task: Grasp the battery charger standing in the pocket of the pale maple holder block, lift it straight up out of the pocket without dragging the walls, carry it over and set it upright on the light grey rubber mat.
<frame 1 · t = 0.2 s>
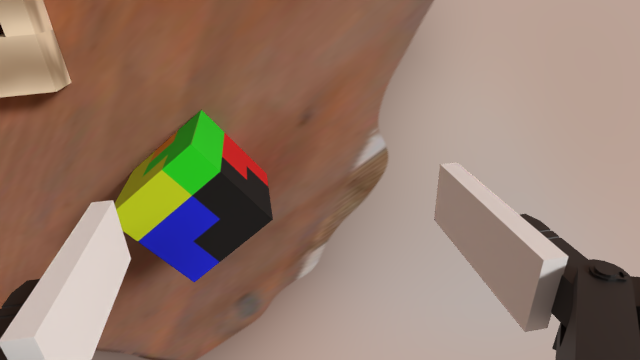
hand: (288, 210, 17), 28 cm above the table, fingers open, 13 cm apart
puzzle toy: (202, 171, 45), on the table
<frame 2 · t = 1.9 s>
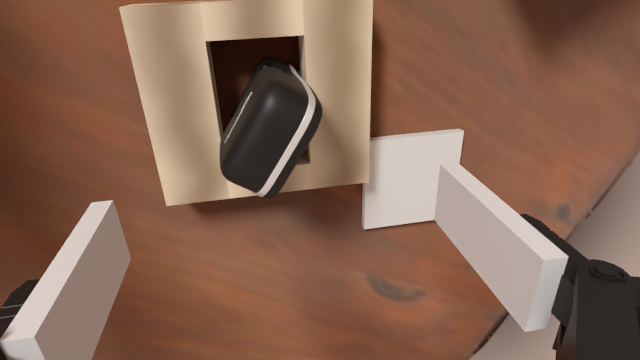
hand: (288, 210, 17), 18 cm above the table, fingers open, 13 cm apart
battery charger: (258, 94, 32), resting in holder block
grey mat: (408, 178, 38), on the table
holder block: (260, 95, 32), on the table
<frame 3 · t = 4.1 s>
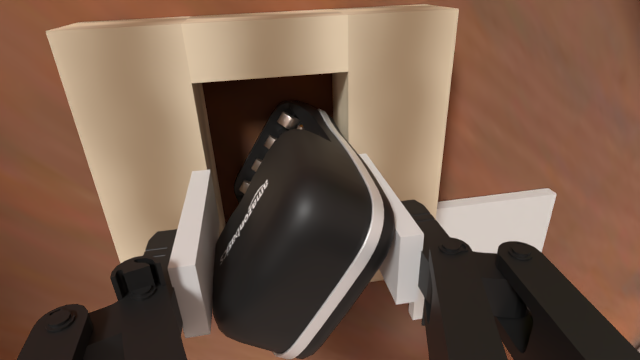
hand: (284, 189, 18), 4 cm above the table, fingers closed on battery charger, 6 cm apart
battery charger: (273, 150, 22), resting in holder block, touching gripper
grey mat: (474, 253, 28), on the table
holder block: (275, 151, 22), on the table
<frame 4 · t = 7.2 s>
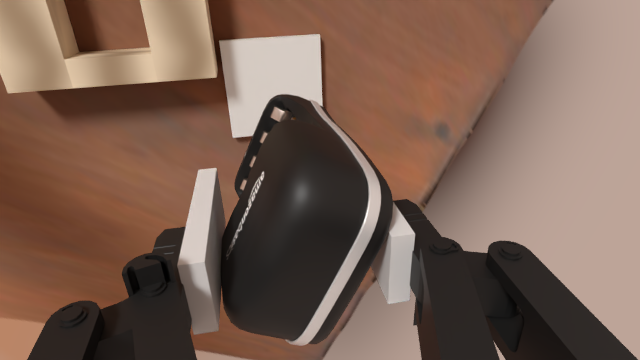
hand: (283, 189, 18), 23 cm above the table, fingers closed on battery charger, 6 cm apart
battery charger: (270, 146, 22), point 18 cm above the table, touching gripper
grey mat: (274, 86, 39), on the table
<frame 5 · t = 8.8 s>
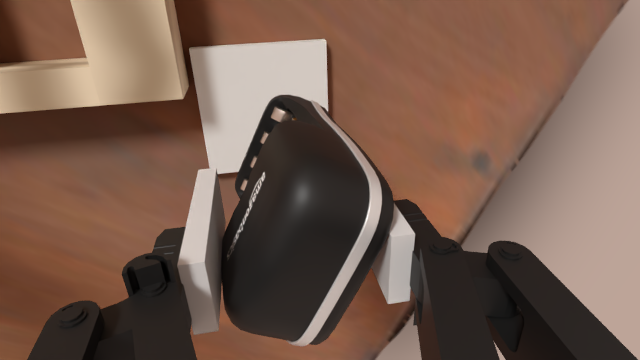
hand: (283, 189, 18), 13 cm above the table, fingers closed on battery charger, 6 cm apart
battery charger: (270, 146, 22), point 8 cm above the table, touching gripper
grey mat: (265, 107, 29), on the table
when the fingers open (7 cm above the table, at t = 10.4 s): battery charger drops 1 cm, resting on grey mat.
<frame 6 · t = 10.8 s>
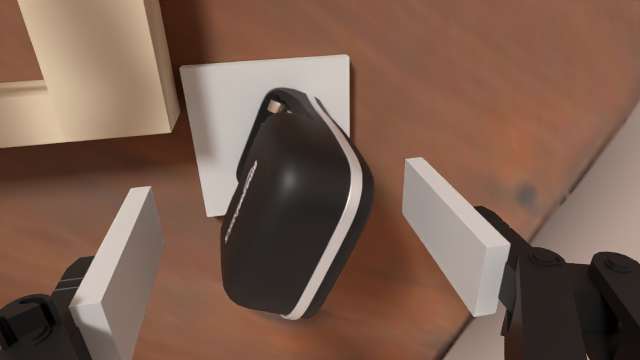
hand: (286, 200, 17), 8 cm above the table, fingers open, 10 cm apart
battery charger: (269, 137, 24), point 1 cm above the table, touching grey mat
grey mat: (273, 137, 24), on the table
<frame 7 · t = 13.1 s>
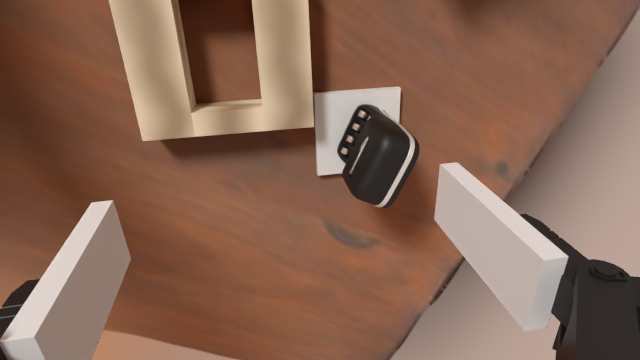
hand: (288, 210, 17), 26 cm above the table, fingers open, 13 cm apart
battery charger: (355, 130, 43), point 1 cm above the table, touching grey mat
grey mat: (356, 130, 44), on the table
holder block: (222, 52, 38), on the table
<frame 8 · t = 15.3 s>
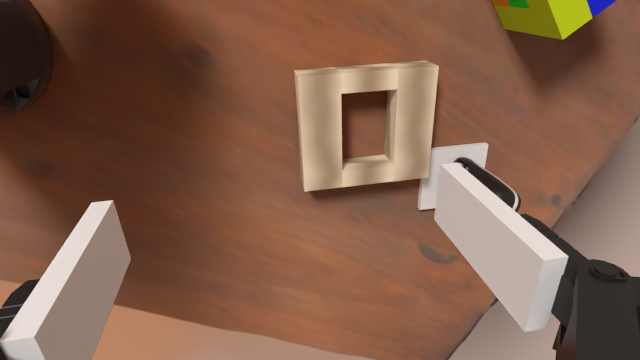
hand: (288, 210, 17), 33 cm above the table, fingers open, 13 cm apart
battery charger: (451, 176, 56), point 1 cm above the table, touching grey mat
grey mat: (450, 175, 57), on the table
holder block: (361, 122, 51), on the table
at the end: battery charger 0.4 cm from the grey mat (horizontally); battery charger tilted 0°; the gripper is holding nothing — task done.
